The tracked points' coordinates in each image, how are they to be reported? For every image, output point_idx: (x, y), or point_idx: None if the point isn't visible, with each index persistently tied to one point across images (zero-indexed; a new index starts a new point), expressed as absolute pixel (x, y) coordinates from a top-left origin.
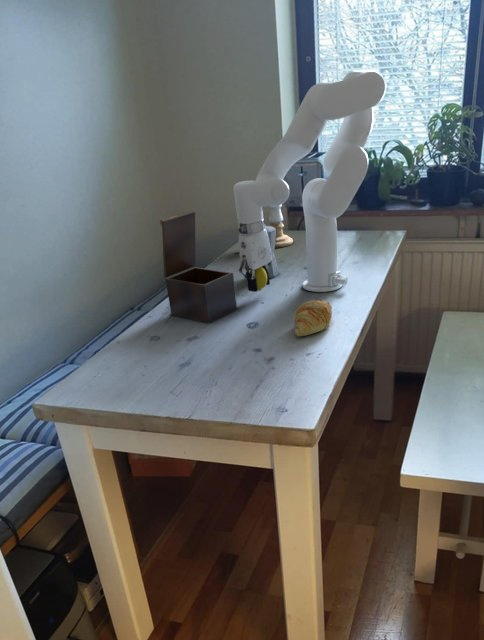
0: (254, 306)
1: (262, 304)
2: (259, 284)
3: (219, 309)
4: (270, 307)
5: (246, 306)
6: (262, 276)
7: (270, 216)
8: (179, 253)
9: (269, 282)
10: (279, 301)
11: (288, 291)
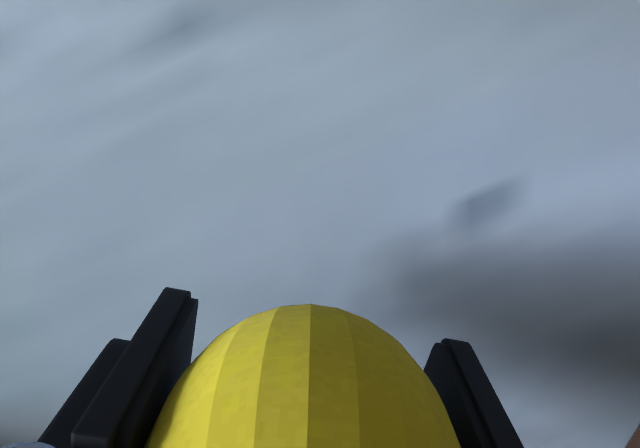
0: (596, 244)
1: (529, 188)
2: (421, 371)
3: None
4: (631, 52)
5: (596, 317)
6: (405, 434)
7: None
8: None
9: (161, 298)
10: (407, 27)
11: (40, 66)
